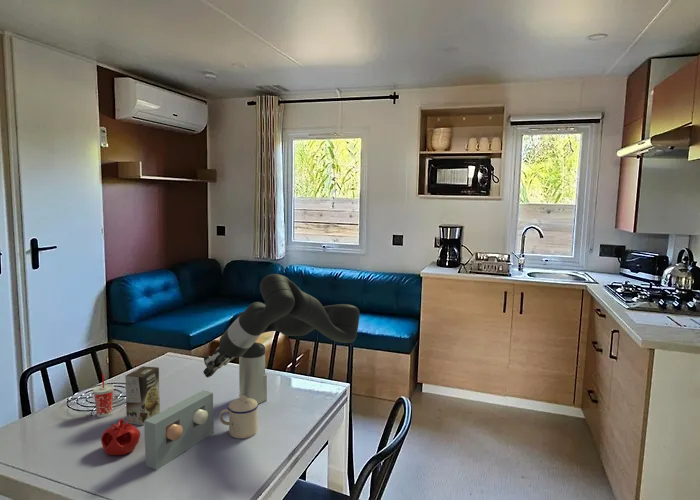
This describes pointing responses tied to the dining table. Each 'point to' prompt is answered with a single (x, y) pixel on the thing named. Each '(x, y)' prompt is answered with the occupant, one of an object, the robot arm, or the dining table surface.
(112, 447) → the tomato
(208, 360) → the robot arm
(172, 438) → the terracotta button
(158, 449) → the button panel
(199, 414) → the cream button
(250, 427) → the teacup with lid
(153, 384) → the coffee box
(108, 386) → the beverage cup
